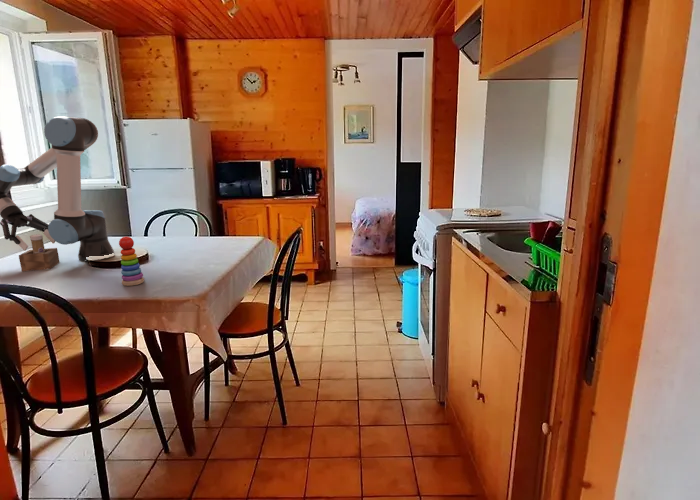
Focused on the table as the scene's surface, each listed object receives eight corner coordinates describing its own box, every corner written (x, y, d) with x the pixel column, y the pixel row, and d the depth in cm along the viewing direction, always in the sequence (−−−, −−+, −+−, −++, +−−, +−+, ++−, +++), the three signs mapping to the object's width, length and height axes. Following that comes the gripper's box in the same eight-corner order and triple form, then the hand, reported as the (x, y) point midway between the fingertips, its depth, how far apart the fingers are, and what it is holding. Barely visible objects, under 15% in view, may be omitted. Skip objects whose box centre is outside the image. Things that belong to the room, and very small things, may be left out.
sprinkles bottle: (40, 266, 195) (34, 236, 191) (32, 265, 196) (27, 235, 192) (50, 263, 199) (44, 234, 195) (42, 262, 200) (37, 233, 197)
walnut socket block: (59, 262, 204) (57, 247, 202) (50, 268, 193) (47, 253, 192) (32, 264, 201) (29, 249, 199) (21, 271, 191) (18, 255, 189)
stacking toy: (126, 280, 175) (120, 234, 170) (147, 279, 176) (141, 233, 171) (118, 287, 167) (111, 239, 163) (140, 286, 168) (133, 238, 163)
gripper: (31, 211, 208) (62, 244, 207) (-25, 221, 184) (9, 257, 184) (38, 200, 205) (69, 233, 204) (-19, 208, 182) (16, 245, 181)
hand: (41, 244), depth 194 cm, fingers open, 13 cm apart
